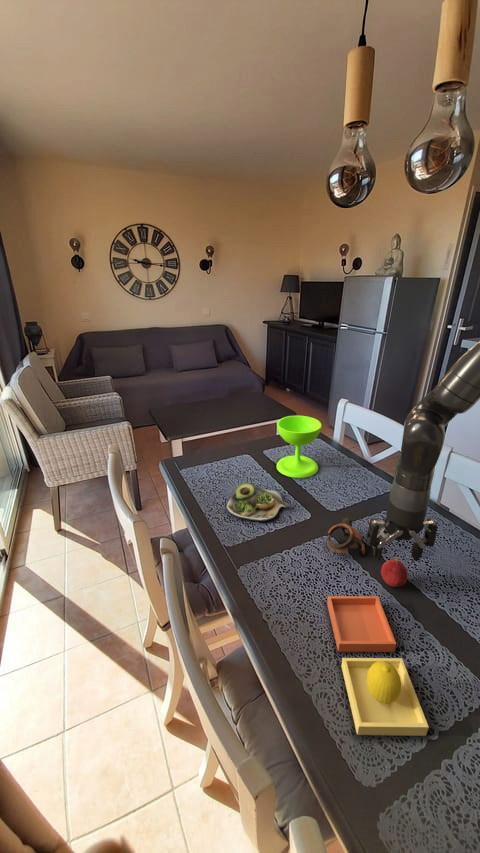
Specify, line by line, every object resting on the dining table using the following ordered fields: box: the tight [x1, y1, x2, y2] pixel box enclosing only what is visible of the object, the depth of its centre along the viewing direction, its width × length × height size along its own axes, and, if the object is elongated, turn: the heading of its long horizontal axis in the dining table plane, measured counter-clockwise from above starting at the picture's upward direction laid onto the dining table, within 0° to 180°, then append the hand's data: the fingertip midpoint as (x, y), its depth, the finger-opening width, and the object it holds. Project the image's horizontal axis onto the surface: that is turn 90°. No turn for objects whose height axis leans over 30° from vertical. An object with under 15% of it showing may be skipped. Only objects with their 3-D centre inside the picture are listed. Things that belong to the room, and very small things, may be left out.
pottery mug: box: [326, 517, 366, 556], centre depth 98 cm, size 12×10×8 cm
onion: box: [380, 557, 409, 588], centre depth 85 cm, size 6×6×8 cm
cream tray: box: [341, 657, 430, 737], centre depth 64 cm, size 11×11×2 cm
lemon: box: [367, 661, 401, 704], centre depth 63 cm, size 6×6×8 cm
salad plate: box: [225, 482, 290, 522], centre depth 116 cm, size 19×18×5 cm
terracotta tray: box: [326, 595, 397, 653], centre depth 77 cm, size 11×11×2 cm
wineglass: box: [276, 415, 322, 479], centre depth 135 cm, size 16×16×18 cm
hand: (396, 557), depth 83 cm, fingers open, 8 cm apart
